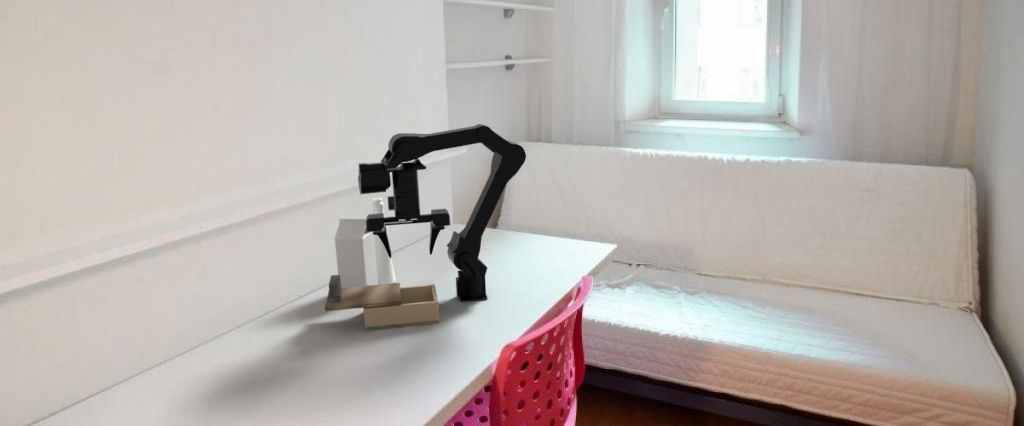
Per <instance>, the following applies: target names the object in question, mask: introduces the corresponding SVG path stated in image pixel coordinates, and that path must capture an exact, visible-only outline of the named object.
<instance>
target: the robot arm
mask: <svg viewBox="0 0 1024 426" xmlns="http://www.w3.org/2000/svg"><path fill="white" fill-rule="evenodd" d="M476 144H482V145H483V146H484V147H485V148H487V150H489V151H490V152H492V153H493V155H492V158H491V165H490V173H489V176H488V179H487V180H486V183H485V185H484V187H483V189H482V191H481V193H480V195H479V197H478V199H477V201H476V203H475V206H474V207H473V210H472V212H471V214H470V216H469V218H468V220H467V223H466V225H465V227H464V228H462V230H461V231H460V232H459V233H458V231H456V230H455V231H453V232H452V236H451V238H450V240H449V242H448V243H447V244H446V247H447V252H446V253H447V257H448V259H449V261H451V263H452V264H453V265H454V266H455V268H457V269H458V270H457V277H455V288H456V289H455V291H456V296H457V297H458V298H459V301H460V302H472V301H479V300H487V299H488V295H487V284H486V274H487V270H488V266H486V265H485V263H484V262H483V261H482V260H481V259H480V258H479V256H480V252H481V246H482V239H483V235H484V232H485V230H486V228H487V227H488V224H489V222H490V220H491V217H492V216H493V213H494V211H495V209H496V207H497V206H498V203H499V201H500V199H501V197H502V195H503V192H504V190H505V188H506V186H507V185H508V183H509V182H510V180H512V178H513V177H515V176H516V175H517V174H518V172H519V171H520V170H521V168H522V166H523V165H524V164H525V162H526V159H527V154H526V150H525V149H524V147H523V146H522V145H520V144H517V143H516V142H513V141H510V140H507V139H505V138H504V137H502V136H501V135H499V134H498V133H496V132H495V131H493V130H492V129H491V127H490V126H488V125H486V124H482V123H479V124H476V125H471V126H467V127H466V126H465V127H462V128H456V129H455V128H454V129H450V130H444V131H437V132H433V133H414V132H411V133H410V132H409V133H406V132H400V133H396V134H394V135H392V137H391V138H390V140H389V142H388V149H387V150H386V152H385V154H384V155H383V157H382V159H381V160H380V162H372V163H366V162H362V163H358V176H357V182H358V184H357V185H358V190H359V194H360V195H368V194H377V193H387V190H389V188H390V187H391V185H392V191H393V196H391V195H390V196H387V207H388V211H390V212H391V211H394V216H385V213H384V214H383V213H381V214H373V213H369V214H368V215H367V216H366V217H365V219H366V228H367V231H368V232H372V231H373V235H378V236H379V238H380V240H381V241H382V243H383V244H384V246H385V249H386V251H387V253H388V255H389V258H391V259H392V249H391V245H390V238H389V239H388V236H389V234H388V235H387V229H388V228H387V229H386V226H387V227H388V226H397V225H398V226H399V225H400V226H401V225H412V224H423V223H424V224H425V223H430V226H429V227H430V228H429V231H430V232H429V243H428V245H429V246H428V249H429V255H431V256H432V255H433V251H434V247H435V244H436V242H437V238H438V237H439V235H440V232H441V230H445V229H446V228H445V227H448V226H451V217H450V213H449V210H447V209H446V208H440V209H439V208H438V209H437V208H436V209H430V213H427V214H425V213H424V214H421V205H420V192H419V191H420V190H419V189H420V186H419V176H418V171H420V170H421V171H422V170H423V171H424V170H426V169H427V166H426V165H425V164H424V163H422V162H421V160H420V158H422V157H424V156H426V155H428V154H430V153H433V152H437V151H443V150H447V149H454V148H458V147H459V148H460V147H463V146H464V147H465V146H469V145H476ZM390 173H391V174H390ZM391 177H392V183H391Z"/></svg>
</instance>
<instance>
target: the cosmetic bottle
mask: <svg viewBox="0 0 1024 426" xmlns="http://www.w3.org/2000/svg"><path fill="white" fill-rule="evenodd" d="M382 200H383V198H382V197H376V198H373V199H372V214H381V213H383V214H384V215H385V208H384V205H385V204H384V202H383V201H382ZM386 229H387V235H388V239H389V240H390V238H389V229H388V225H387V226H386ZM374 243H375V254H376V266H377V278H378V285H381V284H392V283H396V281H397V279H396V275H395V270H394V266H393V260H392V257H391V258H389V255H388V253H387V251H386V249H385V246H384V244H383V243H382V241H381V240H380V238H379V236H378V235H374Z"/></svg>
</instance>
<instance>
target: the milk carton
mask: <svg viewBox="0 0 1024 426" xmlns="http://www.w3.org/2000/svg"><path fill="white" fill-rule="evenodd" d="M338 221H339V223H338V227H337V229H336V234H335V236H334V242H335V255H336V256H335V257H336V264H337V275H340V278H341V288H347V287H358V286H369V285H378V278H377V266H376V254H375V243H374V235H373V231H372V232H368V231H367V228H366V218H339V219H338Z"/></svg>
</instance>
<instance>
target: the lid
mask: <svg viewBox="0 0 1024 426" xmlns="http://www.w3.org/2000/svg"><path fill="white" fill-rule="evenodd" d="M400 287H401V282H394V283H392V284H381V285H369V286H358V287H347V288H341V278H340V275H338V274H333V275H330V279H329V283H328V293H327V295H326V296H327V297H326V301H325V304H324V305H325V306H324V311H325V312H333V311H344V310H345V311H346V310H354V309H362V308H366V307H376V306H387V305H398V304H401V291H400Z"/></svg>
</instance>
